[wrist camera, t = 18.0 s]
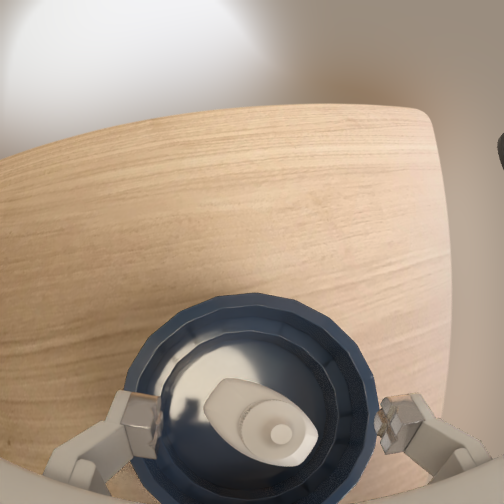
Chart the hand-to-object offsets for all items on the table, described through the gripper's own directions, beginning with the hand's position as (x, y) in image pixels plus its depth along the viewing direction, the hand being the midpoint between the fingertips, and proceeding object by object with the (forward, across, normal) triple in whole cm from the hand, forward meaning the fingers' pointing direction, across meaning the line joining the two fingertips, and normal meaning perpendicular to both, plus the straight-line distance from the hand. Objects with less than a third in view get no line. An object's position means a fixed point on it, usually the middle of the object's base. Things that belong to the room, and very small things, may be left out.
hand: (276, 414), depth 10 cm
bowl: (+8, 0, +9) cm, 12 cm away
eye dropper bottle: (+7, 0, +8) cm, 11 cm away
